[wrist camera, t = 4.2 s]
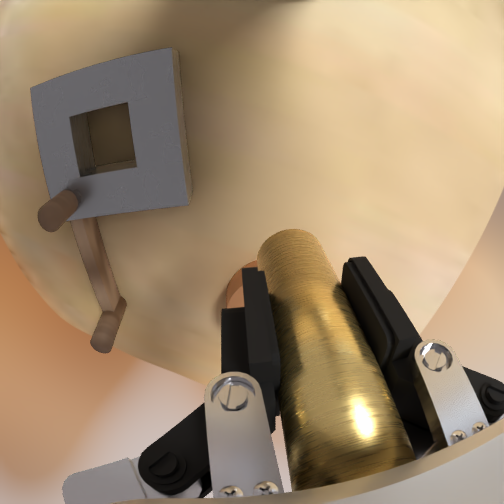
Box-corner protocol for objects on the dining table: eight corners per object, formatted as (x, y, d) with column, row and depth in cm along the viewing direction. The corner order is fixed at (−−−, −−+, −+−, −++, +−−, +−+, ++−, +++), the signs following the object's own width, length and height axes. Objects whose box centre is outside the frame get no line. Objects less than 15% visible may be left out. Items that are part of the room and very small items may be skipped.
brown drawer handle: (70, 180, 22) (34, 207, 17) (90, 176, 22) (55, 203, 17) (111, 310, 29) (95, 353, 24) (129, 309, 29) (114, 353, 24)
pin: (255, 232, 12) (303, 516, 3) (324, 226, 12) (447, 472, 4) (258, 288, 13) (293, 530, 5) (320, 282, 14) (399, 504, 5)
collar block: (50, 85, 18) (30, 88, 15) (178, 52, 18) (171, 47, 15) (72, 207, 23) (57, 222, 21) (193, 191, 24) (188, 205, 21)
